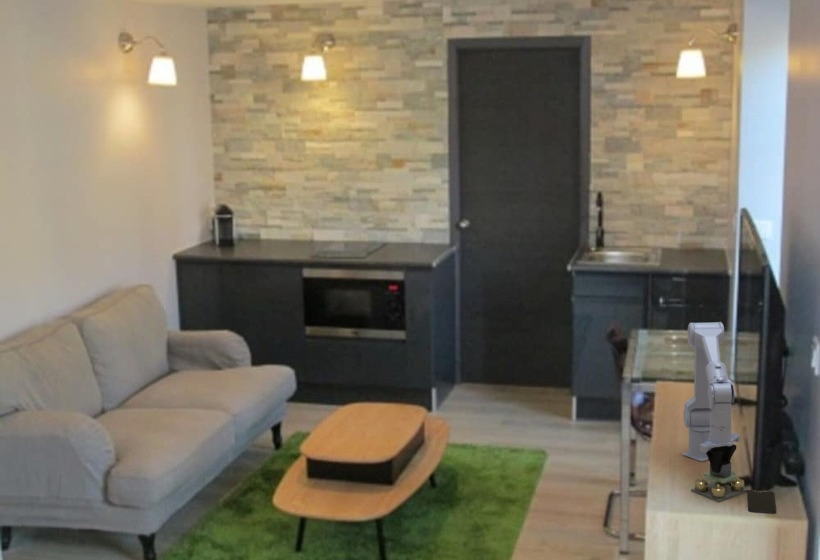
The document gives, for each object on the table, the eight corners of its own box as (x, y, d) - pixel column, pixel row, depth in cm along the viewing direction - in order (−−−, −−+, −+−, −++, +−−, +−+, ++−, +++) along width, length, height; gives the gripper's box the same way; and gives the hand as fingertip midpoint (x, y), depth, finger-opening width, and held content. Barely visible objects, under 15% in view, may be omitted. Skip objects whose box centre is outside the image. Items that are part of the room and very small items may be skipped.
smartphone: (746, 491, 310) (747, 513, 295) (747, 489, 309) (747, 510, 295) (774, 493, 308) (776, 515, 293) (774, 491, 307) (776, 512, 293)
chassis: (719, 480, 317) (720, 467, 316) (747, 491, 309) (748, 478, 308) (691, 491, 310) (691, 478, 310) (718, 502, 302) (719, 488, 301)
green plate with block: (721, 469, 314) (721, 454, 313) (740, 477, 308) (741, 461, 307) (699, 477, 309) (700, 461, 308) (719, 485, 303) (719, 468, 302)
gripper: (714, 434, 298) (713, 481, 301) (749, 422, 306) (748, 468, 309) (694, 427, 304) (693, 473, 307) (729, 416, 312) (728, 461, 315)
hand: (719, 470), depth 308 cm, fingers closed on green plate with block, 3 cm apart
